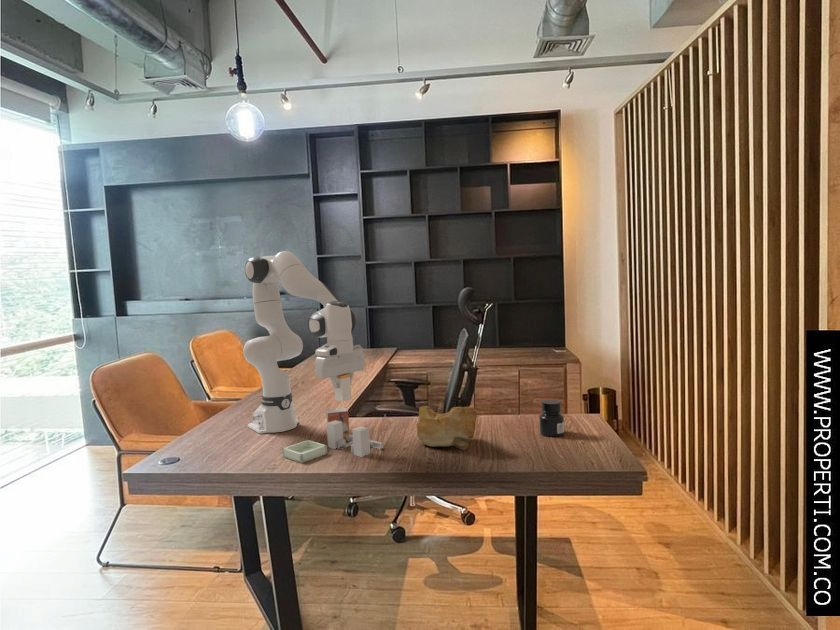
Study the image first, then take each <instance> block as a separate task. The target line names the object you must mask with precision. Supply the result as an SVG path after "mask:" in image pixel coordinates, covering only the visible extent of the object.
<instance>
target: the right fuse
mask: <svg viewBox="0 0 840 630" xmlns="http://www.w3.org/2000/svg"><path fill="white" fill-rule="evenodd" d="M351 432H352V435H353V450H354V453H353V456H357V457H360V458H362V457H363V458H364V457H366V456H368V455H370V454H371V447H370V440H371V439H370V428H369V427H366V426H361V425H360V426H358V427H355V428H352V431H351ZM369 439H370V440H369ZM365 455H366V456H365Z"/></svg>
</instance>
